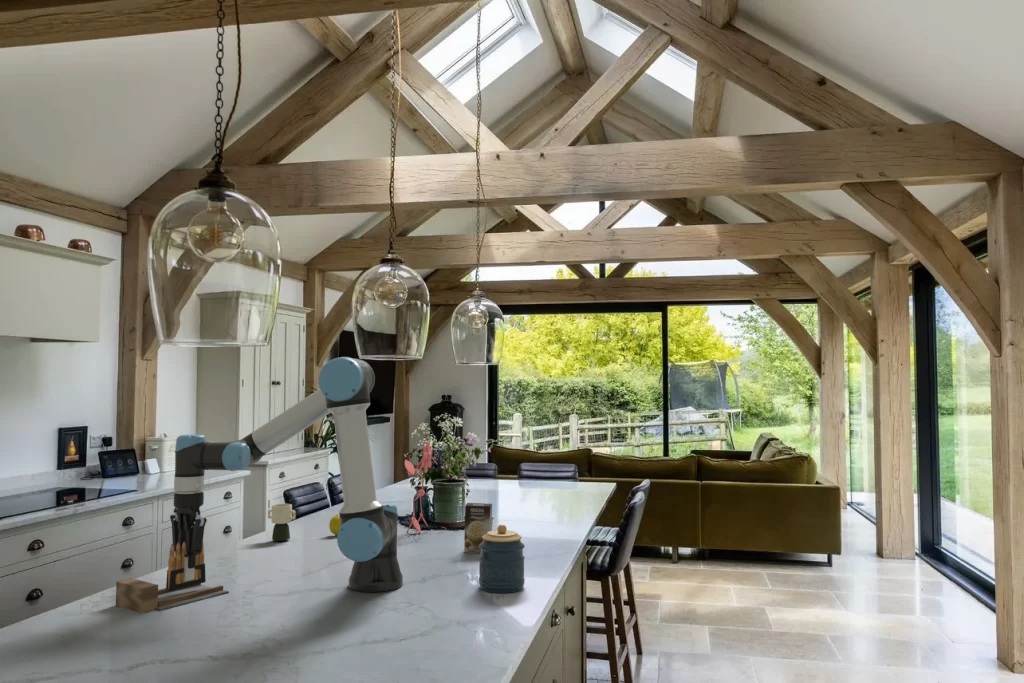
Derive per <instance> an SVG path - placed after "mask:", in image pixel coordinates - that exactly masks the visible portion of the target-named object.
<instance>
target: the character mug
mask: <svg viewBox="0 0 1024 683" xmlns="http://www.w3.org/2000/svg"><path fill="white" fill-rule="evenodd" d="M296 512H297V511H296V509H295V510H294V509H293V505H292V504H291V503H275V504H272V505H271V508H270V509H268V510H267V519H270V520H271V523H272V524H275V525H273V530H272V535H271V536H272V537H271V540H272V541H276V542H280V541H283V542H285V541H287V540H289V539H291V535H290V534H291V533H290V526H289V524H288V523H291V522H292V521H293V520H296Z"/></svg>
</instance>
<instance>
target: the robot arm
mask: <svg viewBox="0 0 1024 683" xmlns="http://www.w3.org/2000/svg"><path fill="white" fill-rule="evenodd" d="M375 380H376V376H375V372H374V370H373V368H372V367H371V366H370V364H369V363H368V362H367V361H365V360H363V359H360V358H352V357H349V356H341V357H335V358H333V359H330V360H329V361H328V362H326V363H325V364H324V365H323V367H322V368H321V370H320V372H319V375H318V387H319V388H318V389H317V390H316V391H314V392H313V393H311V394H310V395H308V396H306V397H305V398H303V399H302V400H300V401H299V402H297V403H295V404H294V405H292V406H291V407H289V408H288V409H286V410H284V411H283V412H281V413H280V414H278V415H277V416H275V417H273V418H272V419H271V420H269V421H268V422H266V423H265V424H262V426H260V427H258V428H257V429H255V430H253V431H252V432H250V433H249V434H248V435H246V436H244V437H243V438H241V439H239V440H233V441H225V442H224V441H223V442H222V441H221V442H210V441H207V439H206V436H205V435H204V434H182V435H178V436H177V437H176V441H175V450H174V454H175V455H174V457H175V458H174V461H175V462H174V480H173V491H174V492H175V493H173V507H175V508H176V512H175V513H174V514H170V516H169V518H170V523H171V534H172V535H171V536H172V544H173V546H174V552H176V546H177V543H179V545H180V554H181V551H182V544H183V542H185V544H186V555H184V581H189V580H194V575H195V560H196V555H197V554H200V553H201V551H202V543H203V544H204V534H205V528H206V527H205V526H206V524H207V521H208V520H207V517H202V516H201V509H200V508H201V507H202V506H203V505H204V502H205V501H204V498H205V496H204V495H205V493H204V492H203V490H204V489H205V487H204V485H205V471H230V472H234V471H243V470H245V469H247V467H248V466H252V465H255V464H256V463H258V462H259V461H260V460H261V459H262V458H263V457H264V456H266V455H267V454H269V453H270V452H272V451H273V450H274V449H276V448H278V447H279V446H281V445H282V444H284V443H285V442H287V441H289V440H290V439H292V438H294V437H295V436H296V435H298V434H299V433H301V432H303V431H304V430H305V429H307V428H310V427H311V426H312V425H314V424H315V423H317V422H318V421H320V420H322V419H323V418H324V417H326V416H327V415H329V414H332V416H333V422H334V424H333V425H334V432H335V439H336V441H335V442H336V448H337V455H338V456H337V458H338V464H339V473H340V474H339V475H340V481H341V482H340V483H341V490H342V500H343V505H342V507H341V508H340V509H339V510H338V513H339V514H338V515H339V516H340V524H341V528H340V529H339V532H338V536H336V538H337V539H336V540H337V546H338V549H339V551H340V552H341V554H342V555H343V556H344V557H346V558H347V559H348V560H350V561H352V562H354V563H353V564H352V569H351V572H350V575H349V577H348V588H349V589H351V590H353V591H356V592H364V593H377V592H378V593H379V592H381V593H382V592H388V591H393V590H396V589H399V588H401V587H402V586H403V584H404V581H403V580H404V578H403V577H404V576H403V574H402V572H401V568H400V564H399V560H398V517H399V512H398V507H397V505H396V504H394V503H382V502H380V501H379V500H378V499H377V494H376V487H375V486H376V485H375V476H374V470H373V469H374V468H373V461H372V453H371V444H370V438H369V428H368V420H367V419H368V418H367V412H366V411H367V409H368V408H369V407H370V405H371V398H370V397H371V396H370V393H371V392H372V390H373V388H374V386H375V382H376V381H375Z"/></svg>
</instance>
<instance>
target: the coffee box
mask: <svg viewBox="0 0 1024 683" xmlns="http://www.w3.org/2000/svg"><path fill="white" fill-rule="evenodd" d="M489 531H493V503H481V502H467V503H466V504H465V506H464V539H463V540H464V543H463V546H464V549H463V553H467V554H468V553H469V554H481V549H480V547H479V544H480V543H482V542H483V540H484V539H482V536H483V535H485V534H487V532H489Z"/></svg>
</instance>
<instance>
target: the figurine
mask: <svg viewBox="0 0 1024 683" xmlns="http://www.w3.org/2000/svg"><path fill="white" fill-rule="evenodd" d="M422 452H423V454H422V458H421V459H420V461H419V463H418V464H417V466H416V467H415V466H414V465H413V463H412V462H410V461H409V460H408V459H405V460H404V467H405V469H406V470H407V475H408V476H409V477H410V476H411V475H412V476H413V477H414V476H415V472H416V473H417V474H418V475H419V476H420V477H421V489H419V490H418V491H417V494H418V496H417V497H416V498H415V499H414V500H413V501H412V502H413V503H412V504H413V507H412V508H413V516H411V522H410V525H409V526H408V528H407V530H406V533H409V532H410V529H411V526H412V525H413V528H414V529H415V530H416V531H417V532H418V533H419V534H421V526H420V524H419V522H420V521H421V519H422V521H423V523H424V524H425V525H426V527H427V528H429V526H428V525H429V524H428V523H427V522H426V520H425V518H424V515H423V508H422V507H423V506H422V497H423V496H425V494H426V492H425V490H424V476H423V475H422V474H421V473H420V472H421V470H422V469H423V468H424V469H423V470H424V471H423V472H424V474H426V473H428V471H429V470H428V468H429V469H431V468H432V460H433V462H434V463H435V464H436V465H438V462H437V461H436V460H435V459H434V457H433V456H432V455H433V446H431V442H430V441H428V442H427V443H426V445H423V448H422ZM418 468H419V469H418ZM419 471H420V472H419ZM418 499H419V501H420V511H421V512H420V513H419V515H420V516H419V517H418V518H416V517H415V501H417V500H418ZM417 519H418V520H417ZM442 528H444V529H445V531H442V532H441V534H442V533H444V532H446V530H447V528H446V527H443V526H442ZM437 534H438V535H439V534H440V532H438V533H437Z"/></svg>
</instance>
